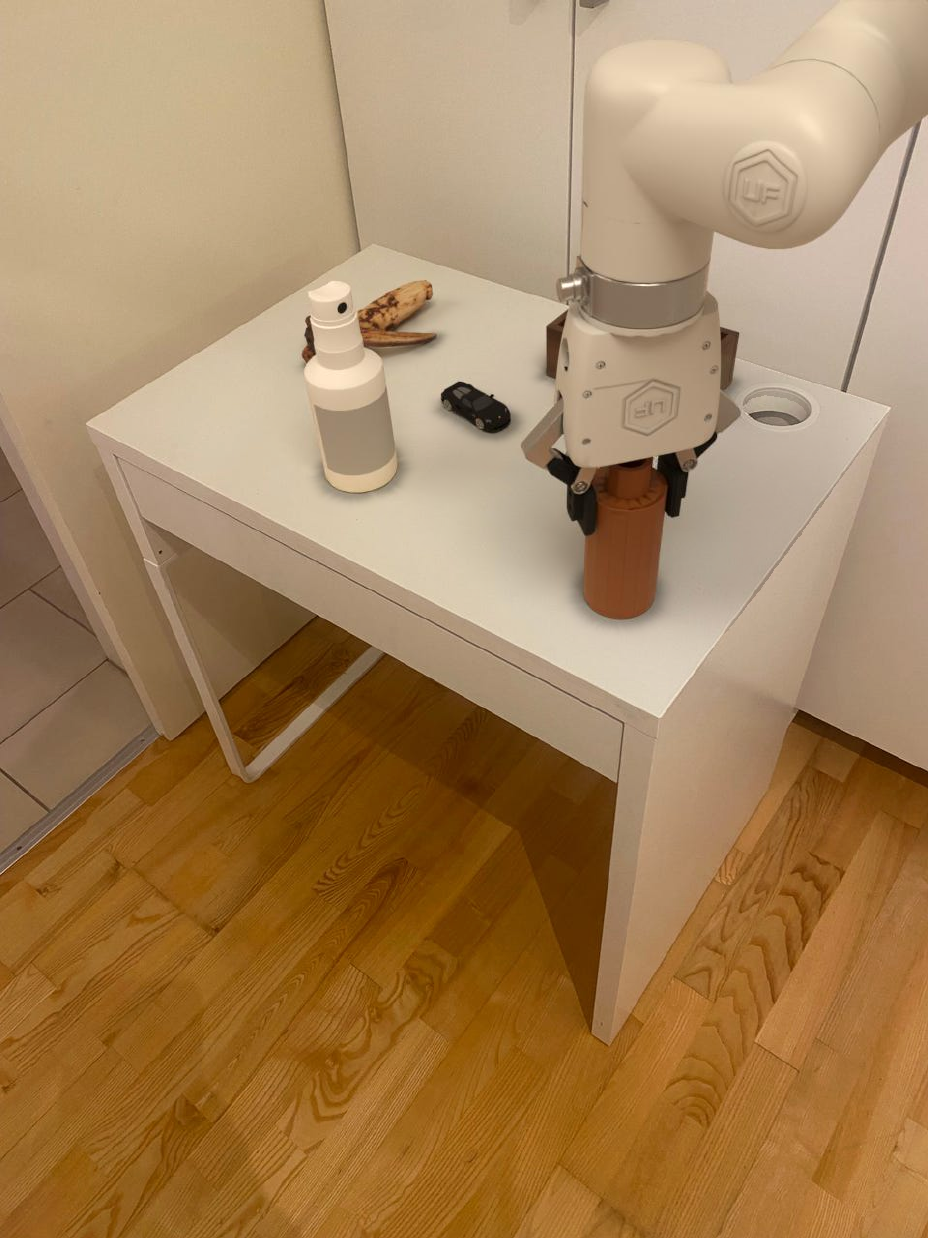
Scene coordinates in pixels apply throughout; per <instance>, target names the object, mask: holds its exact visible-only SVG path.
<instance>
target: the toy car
mask: <svg viewBox="0 0 928 1238" xmlns="http://www.w3.org/2000/svg"><path fill="white" fill-rule="evenodd" d="M494 397H495V395H494V393H491V394H487V393H485V392H483V391H482V390H480V389H478V388H476V387H475V386H474V385H473V384H471V383H467V382H464V381H460V380H459V381H457V382H455V383H454V384H453V383H452V384H451V385H449V386H447V387H446V388H444V389H443V391H442V392H441V393H440V402H441V403H442V404H443V406H444V408H445V409H446V410H447V411H449V412H451V411H453V412H454V413H456V414H457V415H459V416H461V417H463V418H464V419H466V420H467V421H469V422H470V423H472V424H473V425H474V426H475V425H476V426H477V428H478V429H479V430H482V431H485V432H491V433H493V432H498V431H500V430H502V429H504V428H506V427H507V426H508V425H509V424H510V423H511V422H512V419H511V418H512V417H511V416H512V415H511V411H510V409H509V407H508V406H507V405H506V404H505V403H503V402H501V401H499V400H498V399H496V398H494Z"/></svg>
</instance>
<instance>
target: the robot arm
mask: <svg viewBox="0 0 928 1238" xmlns="http://www.w3.org/2000/svg"><path fill="white" fill-rule="evenodd" d="M583 93H584V94H583V111H582V113H583V116H582V119H583V120H582V154H581V155H582V157H581V158H582V159H581V162H582V163H581V192H580V193H581V195H580V197H581V198H580V200H581V201H580V237H579V239H580V241H579V243H580V244H579V255H576V260H575V261H576V262H575V263H576V264H575V265H576V266H575V268H574V272H573V273H570V274H568V276H565V277H559V278H557V279H556V283H555V287H556V288H555V289H556V295H557V299H558V301H559V303H564V302H569V301H570V303H569V307H568V308H567V310H568V313H567V317H566V321H565V325H564V329H563V333H562V338H561V344H560V349H559V356H558V363H557V372H556V379H555V382H554V383H555V384H554V394H553V395H554V397H553V398H554V399H553V406H552V407H551V409H550V410H549V411H548V412H547V413H546V414H545V415H544V417H542V419H541V420H540V421H539V422H538V423H537V424H536V426H535V427H533V429H532V430H531V431H530V432H529V433H528V434H527V436H526V437H525V438H524V439H522V442H521V443H520V448H521V451H522V453H523V456H524V457H525V459H526V460H527V461H528V462H530V463H532V464H533V465H535V466H537V467H539V468H541V469H543V470H546V471H548V472H549V474H550V475H551V476H552V477H554V478H556V480H558V481H560V482H562V483H563V484H565V485H566V512H567V515H568V517H569V519H570V521H571V522H577V524H578V526H579V527H580V529H581V531H582V534H583V535H584V537H585V536H588V535H592V534H593V532H595V517H596V491H595V489H594V487H593V486H592V484H591V482H592V480H593V478H594V476H595V473H596V471H597V469H598V468H599V467H604V466H609V465H614V464H619V463H624V462H629V461H634V460H639V459H644V458H649V457H653V458H654V457H657V465H656V470H658V471H659V472H660V473H661V474H662V475H663V476H664V477H665V480H666V482H667V485H668V490H667V498H666V507H665V515H667V517H670V518H671V519H673V518H677V517H678V518H679V517H680V514H681V506H682V499H686V496H687V495H686V494H687V490H688V489H687V488H688V480H689V475H690V472H691V471H694V470H695V469H696V468H697V466H698V464H699V463H698V459H699V458H700V457H701V456H702V455H703V454H704V453H705V452H706V451H707V450H709V448H710V447H711V446H712V445H713V444H714V443H715V442H716V441H717V439H718V435H719V434H722V433H723V432H724V431H725V430H727V429H728V428H730V426H731V425H732V424H733V423H734V422H735V421H737V420H738V419H739V418H740V417H741V415H742V411H741V409H740V407H739V406H738V405H737V404H736V402H735V401H734V400H733V399H732V398H731V397H730V396H729V395H728V394H727V393H726V392H725V391H722V390H721V389H720V380H721V335H720V327H721V320H720V311H719V310H720V309H719V302H718V300H717V298H716V297H715V296H714V295H713V294H711V293H710V292H709V291H708V289H707V288H708V281H709V274H710V266H711V257H712V251H713V245H714V244H713V243H714V235H715V233H717V234H719V235H722V236H724V237H725V238H726V237H727V238H729V239H732V240H733V241H737V242H739V243H742V244H744V245H748V246H751V247H756V248H761V249H766V250H788V249H793V248H797V247H801V246H805V245H807V244H809V243H811V242H813V241H815V240H817V239H818V238H820V237H822V236H823V235H824V234H826V233H827V232H828V231H830V230H831V228H833V227H834V226H835V225H836V223H838V222H839V220H840V219H841V218H842V217H843V215H844V214H845V213H846V211H847V210H848V209H849V207H850V205H851V204H852V202H853V201H854V199H855V198H856V196H857V195H858V193H859V192H860V191H861V189H862V187H863V186H864V184H865V183H866V181H867V180H868V178H869V177H870V175H871V174H872V172H873V170H874V168H876V166H877V164H878V162H879V161H880V160H881V158H882V156H883V155H884V154H885V153H886V151H887V149H888V148H889V147H890V146H891V145H893V143H895V142H896V141H897V140H898V139H900V138H901V136H903V135H904V134H905V133H907V132H908V131H909V130H911V128H913V127H914V126H915V125H917V124H918V123H919V122H921V121H922V120H923V119H924V118H926V117H927V116H928V0H838V1H837V2H836V3H835V4H833V6H831V7H830V9H828V10H827V11H826V12H825V13H824V14H822V16H821V17H819V18H818V19H817V20H816V21H815V22H814V23H813V24H812V25H810V27H808V29H806V30H805V31H804V32H803V33H802V34H801V35H800V36H798V37H797V38H796V39H795V40H794V41H793V42H792V43H791V44H790V45H789V46H788V47H787V48H786V49H785V50H784V51H782V53H780V55H778V56H777V57H776V58H775V59H774V60H773V61H772V63H770V64H769V65H768V66H767V67H766V68H765V69H764V71H762V72H761V73H759V74H757V75H754V76H752V77H750V78H746V79H744V80H741V81H737V82H733V79H732V72H731V68H730V66H729V64H728V62H727V61H726V59H725V58H724V56H723V55H722V54H721V53H720V52H718V51H717V50H716V49H714V48H712V47H710V46H709V45H705V44H703V43H699V42H695V41H691V40H685V39H676V38H653V39H643V40H642V39H641V40H636V41H632V42H628V43H624V44H621V45H619V46H616V47H613V48H611V49H609V50H607V51H605V53H603V54H602V55H601V56H600V57H599V58H597V59H596V61H594V63H593V64H592V66H591V68H590V69H589V72H588V73H587V77H586V81H585V84H584V92H583ZM562 436H564V437H563V438H564V445H565V449H566V451H565V453H564V452H562V451H560V450H559V449H557V448H555V447H553V446H554V445H555V444H556V442H557V441H558V440H559V439H560V438H561V437H562Z"/></svg>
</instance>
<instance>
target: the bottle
mask: <svg viewBox="0 0 928 1238" xmlns="http://www.w3.org/2000/svg"><path fill="white" fill-rule="evenodd" d="M653 465H654V457H649V458H644V459H639V460H634V461H629V462H624V463H619V464H614V465H609V466H604V467H598V469H597V471H596V473H595V476H594V478H593V480H592V482H591V484H592V486H593V487H594V489H595V491H596V517H595V532H593V534H592V535H588V536H585V535H584V554H583V555H584V558H583V584H582V590H583V598H584V600H585V603H586V604H587V606H588V607H589V608H590V609H591V610H592V611H594V612H595V613H596V614H598V615H601V616H603V617H606V618H608V619H609V618H610V619H615V620H627V619H633V618H636V617H639V616H641V615H642V614H645V613H646V612H647V611H648V610H649V609H650V608H651V607H652V606H653V603H654V601H655V598H656V592H657V585H658V577H659V576H658V575H659V567H660V560H661V559H660V558H661V550H662V542H663V541H662V540H663V532H664V523H665V515H666V512H665V507H666V498H667V490H668V485H667V482H666V480H665V477H664V476H663V475H662V474H661V473H660V472H659V471H658V470H657V468H655V467H654V466H653Z"/></svg>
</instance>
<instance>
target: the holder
mask: <svg viewBox="0 0 928 1238" xmlns="http://www.w3.org/2000/svg"><path fill="white" fill-rule="evenodd" d="M567 313H568V309H566V310H565V311H563V312H562V313H561V314H560V315H558V316H557V317H556V318H555V319H553V320H552V321H551V322H550V323H548V324H547V325H546V326H545V329H546V330H545V332H546V334H545V335H546V338H545V339H546V340H545V343H546V344H545V345H546V348H545V351H546V352H545V353H546V357H545V359H546V362H545V363H546V364H545V365H546V366H545V367H546V368H545V369H546V370H545V373H546V374H545V375H546V376H547V377H550V378H553V379H555V380H556V372H557V363H558V356H559V349H560V344H561V338H562V333H563V329H564V325H565V321H566V317H567ZM720 335H721V380H720V389H721V390H722V391H723V392H725V390H726V389H727V388H728V387H729V386H730V385H731V384H732V382H733V376H734V371H735V365H736V357H737V351H738V347H739V346H738V345H739V339H740V332H739V331H736V330H733V329H729V328H726V327H723V326H720Z"/></svg>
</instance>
